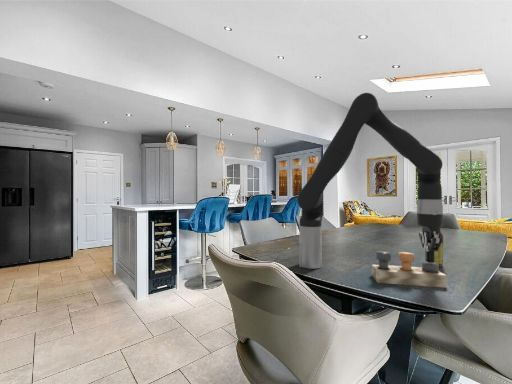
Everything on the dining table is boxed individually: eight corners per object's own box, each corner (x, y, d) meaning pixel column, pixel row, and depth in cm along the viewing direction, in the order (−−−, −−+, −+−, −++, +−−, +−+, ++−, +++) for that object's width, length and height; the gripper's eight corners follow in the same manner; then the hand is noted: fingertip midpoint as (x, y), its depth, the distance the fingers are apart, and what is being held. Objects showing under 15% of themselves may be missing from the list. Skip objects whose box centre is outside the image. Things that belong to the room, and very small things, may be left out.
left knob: (377, 271, 91) (377, 253, 91) (374, 267, 96) (374, 250, 96) (392, 272, 90) (392, 254, 90) (388, 268, 95) (388, 251, 95)
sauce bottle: (422, 263, 114) (422, 218, 114) (436, 263, 114) (436, 218, 114) (432, 267, 108) (431, 220, 108) (447, 268, 107) (446, 220, 108)
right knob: (425, 283, 88) (425, 264, 88) (419, 279, 93) (419, 261, 93) (441, 284, 87) (441, 265, 87) (434, 280, 92) (434, 262, 92)
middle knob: (401, 273, 90) (401, 254, 90) (396, 269, 94) (396, 251, 94) (416, 273, 89) (416, 255, 89) (411, 270, 93) (411, 252, 93)
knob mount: (377, 282, 89) (377, 271, 89) (371, 274, 98) (371, 264, 98) (446, 287, 85) (446, 275, 85) (434, 278, 93) (433, 267, 94)
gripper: (410, 211, 97) (410, 257, 97) (425, 213, 84) (425, 266, 84) (433, 211, 96) (433, 258, 95) (451, 214, 83) (452, 268, 83)
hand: (429, 262), depth 90 cm, fingers closed
